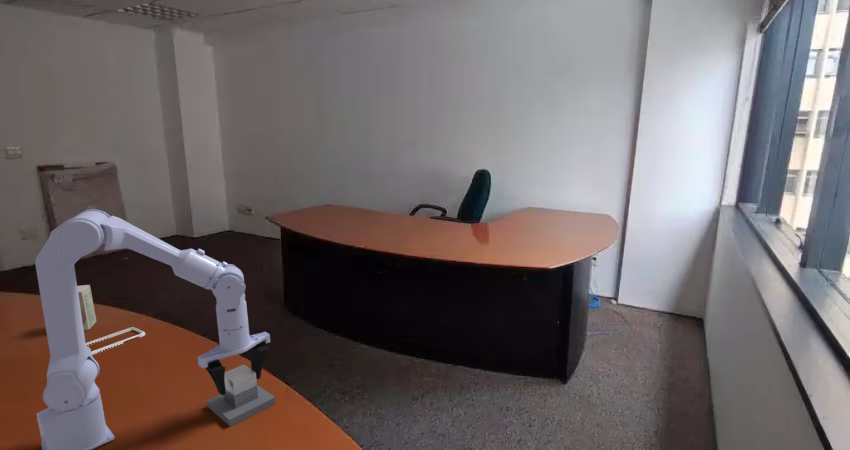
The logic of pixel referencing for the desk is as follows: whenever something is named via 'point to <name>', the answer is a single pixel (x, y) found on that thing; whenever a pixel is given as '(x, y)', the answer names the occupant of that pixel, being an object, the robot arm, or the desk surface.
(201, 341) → the desk surface
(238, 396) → the block
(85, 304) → the skincare box
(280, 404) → the desk surface
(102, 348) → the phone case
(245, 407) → the stand
